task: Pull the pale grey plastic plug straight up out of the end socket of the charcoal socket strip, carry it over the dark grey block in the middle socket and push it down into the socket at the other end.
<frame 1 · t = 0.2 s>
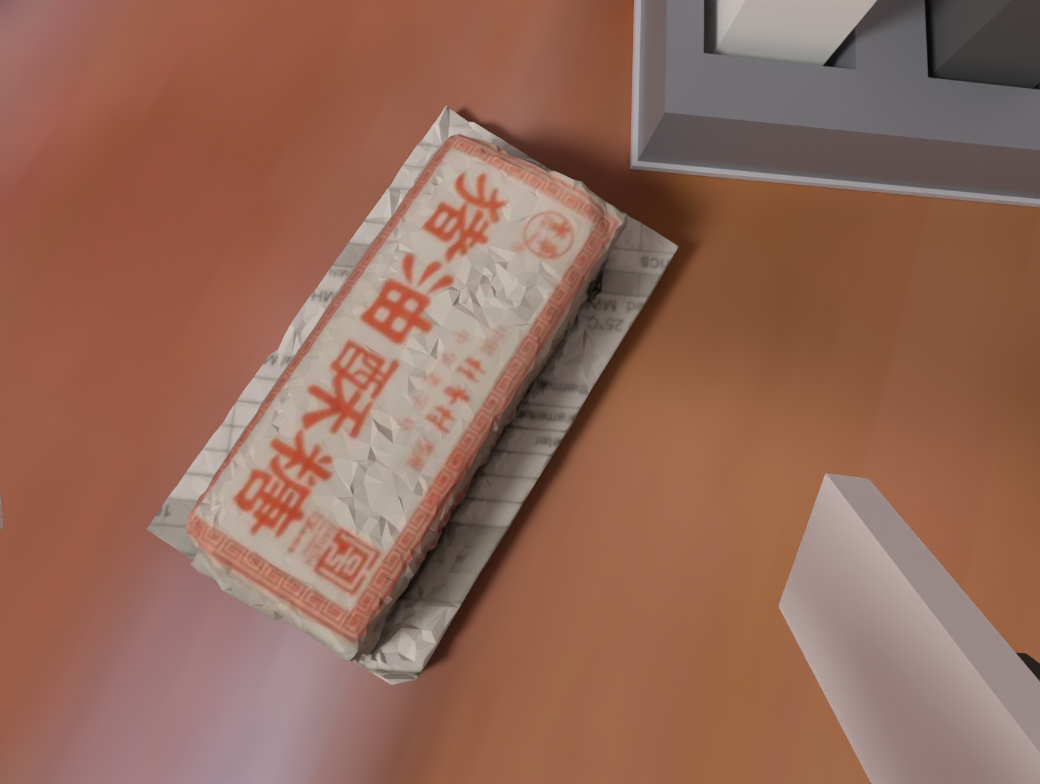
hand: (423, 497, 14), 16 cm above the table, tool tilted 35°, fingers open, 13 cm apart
packaged product: (427, 388, 31), on the table
plug: (748, 39, 33), point 1 cm above the table, touching socket strip
socket strip: (932, 75, 35), on the table
dark grey block: (947, 61, 34), resting on socket strip
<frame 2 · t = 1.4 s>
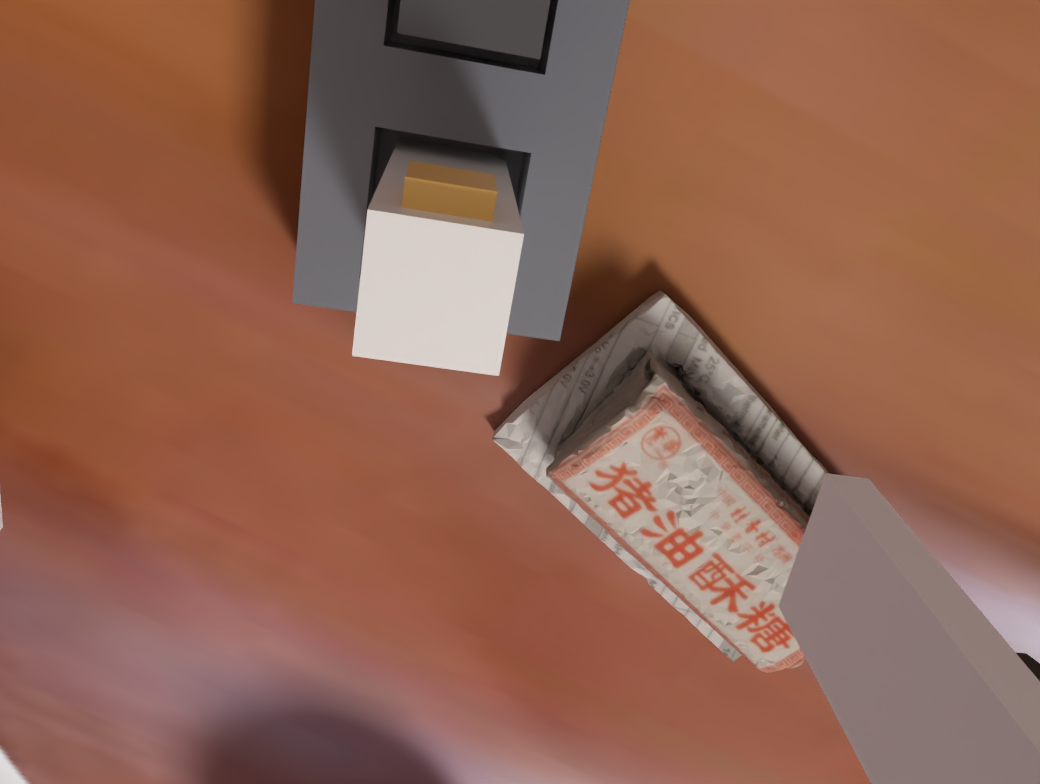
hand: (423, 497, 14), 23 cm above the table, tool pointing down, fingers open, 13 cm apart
packaged product: (694, 479, 42), on the table
plug: (444, 199, 34), point 1 cm above the table, touching socket strip
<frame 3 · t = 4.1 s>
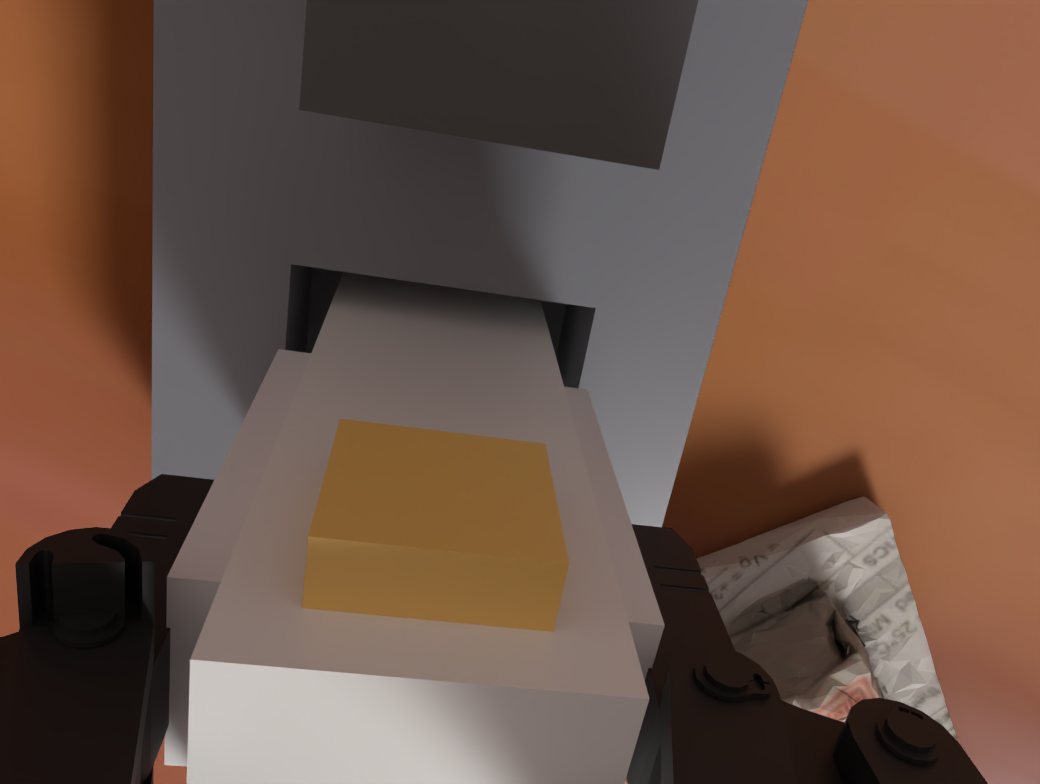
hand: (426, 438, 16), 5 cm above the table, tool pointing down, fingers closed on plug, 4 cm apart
packaged product: (779, 760, 28), on the table
plug: (431, 361, 19), point 1 cm above the table, touching gripper, socket strip
when the fingers open (6 cm above the table, at t = 9.0 s): plug drops 1 cm, resting on socket strip.
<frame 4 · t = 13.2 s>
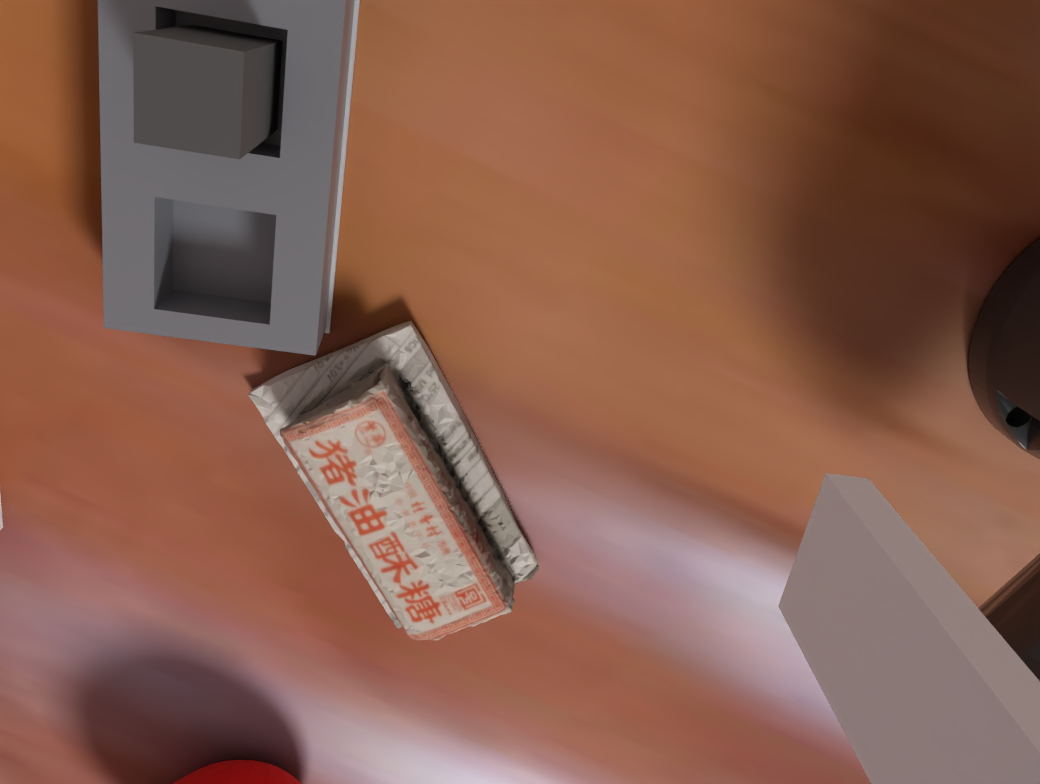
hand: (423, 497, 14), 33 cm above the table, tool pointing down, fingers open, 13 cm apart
packaged product: (405, 475, 52), on the table
socket strip: (240, 76, 42), on the table
dark grey block: (235, 78, 41), resting on socket strip
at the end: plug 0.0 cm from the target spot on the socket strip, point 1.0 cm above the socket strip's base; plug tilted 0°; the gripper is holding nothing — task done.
